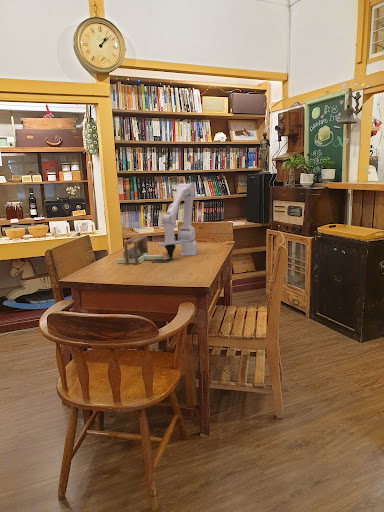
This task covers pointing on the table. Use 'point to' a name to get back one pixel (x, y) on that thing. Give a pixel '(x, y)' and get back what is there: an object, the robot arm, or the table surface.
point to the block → (143, 257)
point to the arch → (136, 246)
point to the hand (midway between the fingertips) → (170, 257)
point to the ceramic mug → (132, 253)
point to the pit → (162, 260)
